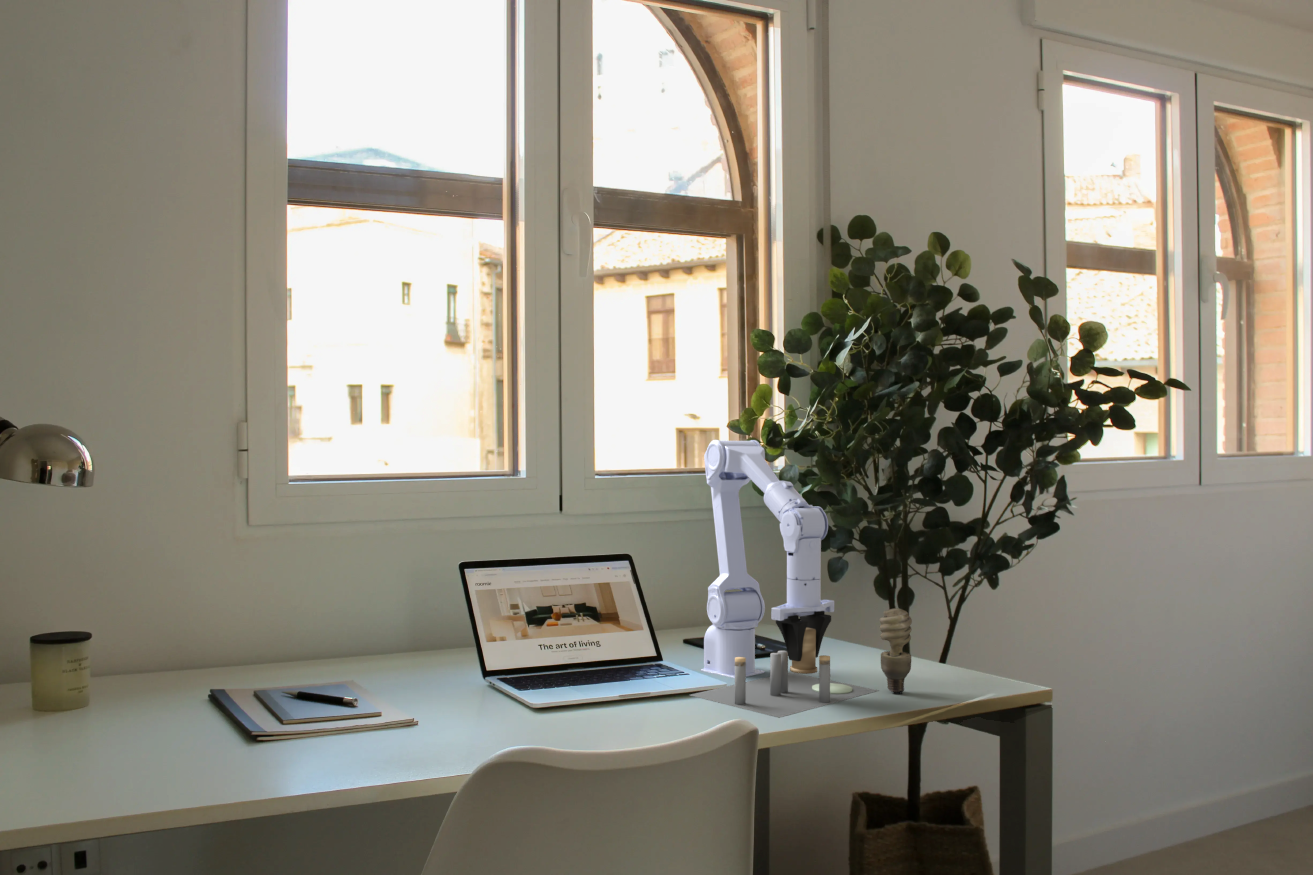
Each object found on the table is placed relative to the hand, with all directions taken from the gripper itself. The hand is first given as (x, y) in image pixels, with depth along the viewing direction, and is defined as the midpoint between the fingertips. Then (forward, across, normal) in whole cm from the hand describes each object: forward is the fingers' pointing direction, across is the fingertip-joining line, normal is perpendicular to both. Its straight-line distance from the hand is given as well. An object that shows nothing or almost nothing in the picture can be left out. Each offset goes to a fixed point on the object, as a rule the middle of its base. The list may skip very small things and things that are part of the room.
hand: (803, 658), depth 175 cm
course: (+7, 0, +4) cm, 8 cm away
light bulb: (+7, +14, -9) cm, 18 cm away
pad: (+6, +8, 0) cm, 10 cm away
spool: (+2, 0, 0) cm, 2 cm away
